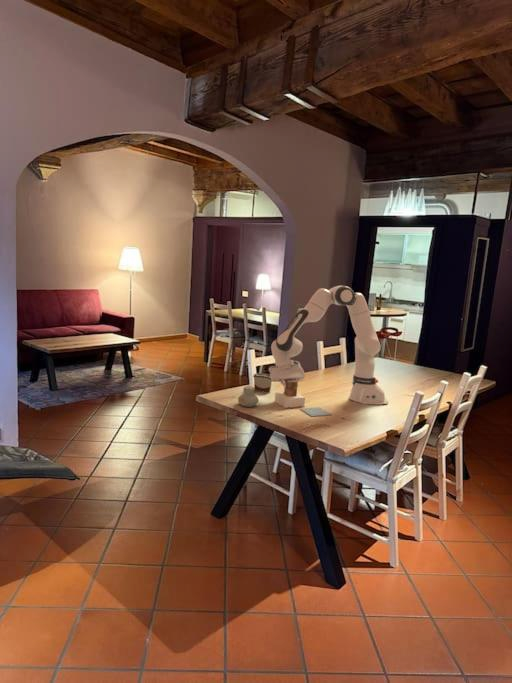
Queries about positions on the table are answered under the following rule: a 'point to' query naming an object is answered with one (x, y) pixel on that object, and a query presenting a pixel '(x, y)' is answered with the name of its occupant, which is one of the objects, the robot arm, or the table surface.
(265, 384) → the food container
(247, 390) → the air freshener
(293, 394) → the walnut block
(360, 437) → the table surface
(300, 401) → the block
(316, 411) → the mat
